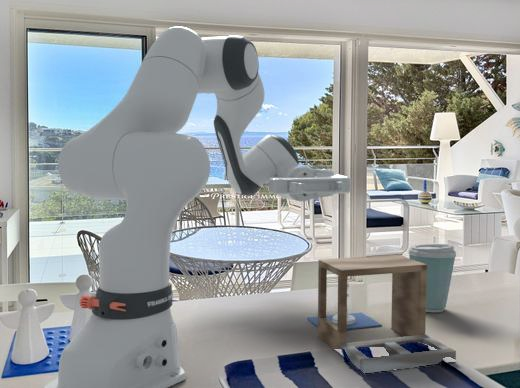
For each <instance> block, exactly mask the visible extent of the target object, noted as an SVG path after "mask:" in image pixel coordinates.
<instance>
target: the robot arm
mask: <svg viewBox="0 0 520 388" xmlns="http://www.w3.org/2000/svg"><path fill="white" fill-rule="evenodd" d="M259 65H260V64H259V55H258V52H257V49H256V46H255V44H254V43H253V42H252V41H251V40H249V39H248V38H247V37H245V36H241V35H235V34H234V35H232V34H231V35H228V36H208V37H203V36H202V37H201V36H200V35H199V34H198V33H197V32H195V31H194V30H192V29H190V28H188V27H184V26H179V25H178V26H172V27H169V28H167V29H165V30H163V31H162V32H161V34H160V35H159V36H158V37H157V38H156V40H155V41H154V42H153V43H152V45H151V46H150V48H149V49H148V51H147V52H146V54H145V56H144V58H143V60H142V62H141V64H140V66H139V68H138V70H137V72H136V74H135V76H134V78H133V81H132V82H131V84H130V87H129V88H128V90H127V92H126V94H125V95H124V97H122V99H121V100H120V101H119V103H117V105H115V107H114V108H113V109H112V110H111V111H110V112H108V114H106V115H105V116H104V117H103V118H102V119H101V120H100V121H99V122H97V123H95V125H93V126H92V127H91V128H89V129H88V130H87V131H85V132H83V133H81V134H79V135H77V136H75V137H73V138H71V139H69V140H68V141H67V142H66V143H65V144H64V145H63V146H62V148H61V150H60V153H59V156H58V161H57V162H58V163H57V167H58V168H57V170H58V174H59V178H60V180H61V182H62V184H63V186H65V188H66V189H67V190H68V191H69V192H71V193H72V194H76V195H79V196H83V197H86V198H91V199H95V200H104V201H105V200H107V201H109V200H111V201H127V202H126V211H125V214H124V217H123V218H122V220H121V222H119V224H115V226H112V227H111V228H110V229H108V230H107V231H106V232H105V233H104V234H103V235H102V237H101V239H100V241H99V245H98V261H99V262H98V265H99V270H98V271H99V286H98V287H97V289H96V293H95V295H94V296H92V295H91V296H90V295H87V294H82V296H80V299H79V303H78V304H79V306H80V308H82V309H89V310H91V313H92V314H91V315H90V316H89V318H88V319H87V320H86V322H85V323H84V324H83V325H82V327H81V328H80V329H79V330H78V332H77V333H76V334H75V335H74V336H73V338H72V339H71V340H70V342H68V344H67V345H66V346H65V348H63V350H62V352H61V354H60V357H59V362H58V363H59V364H58V374H57V375H58V376H57V377H55V378H54V379H53V380H52V381H50V382H48V383H47V384H45V385H44V386H43V387H42V388H170V387H171V386H174V385H176V384H178V383H181V382H182V381H183V382H184V381H185V380H186V378H187V375H186V370H185V369H184V368H183V366H182V365H181V357H180V347H179V337H178V329H177V328H178V327H177V325H176V322H175V320H174V318H173V315H172V311H171V307H172V306H173V297H174V292H173V285H172V283H171V282H170V252H171V240H172V235H173V232H174V228H175V225H176V223H177V221H178V219H179V217H180V215H181V213H182V212H183V210H184V209H185V208H186V207H187V205H188V204H189V203H190V202H192V201H193V200H194V199H195V198H197V196H199V194H201V193H202V191H203V190H204V189H205V188H206V185H207V183H208V180H209V177H210V174H211V173H210V172H211V162H210V157H209V153H208V152H207V150H206V148H205V146H204V144H203V143H202V142H201V141H200V140H199V139H198V138H197V137H194V136H191V135H186V134H181V133H178V132H180V131H181V130H182V129H183V127H185V125H186V124H187V122H188V120H189V117H190V114H191V112H192V109H193V106H194V103H195V101H196V98H197V96H198V94H209V95H210V94H214V96H215V98H216V114H215V116H214V118H213V127H214V131H215V135H216V139H217V140H216V141H217V143H218V147H219V150H220V153H221V156H222V159H223V164H224V167H225V176H226V178H227V181H228V183H229V185H230V187H231V189H233V190H234V191H235V192H236V193H237V194H238V195H240V196H247V197H248V196H255V195H256V194H257V193H258V192H259V190H260V191H261V189H262V187H265V188H268V192H269V193H270V194H274V195H277V196H278V197H280V198H284V199H289V200H291V201H295V202H303V203H304V202H307V201H310V200H314V199H317V198H325V197H332V196H333V195H338V194H349V193H351V190H352V179H351V178H350V177H349V176H346V175H344V174H343V175H342V174H338V173H334V171H333V170H321V169H315V168H311V167H308V166H299V164H300V163H299V156H298V154H297V152H296V150H295V148H294V147H293V146H292V145H291V143H290V142H289V141H288V140H286V139H285V138H284V137H282V136H279V135H277V134H276V135H275V134H267V135H265V136H264V137H263V138H262V139H260V140H259V141H258V142H256V143H255V144H254V145H253V146H252V147H251V148H249V150H247V151H246V152H245V153H244V154H243V152H242V149H241V144H240V141H241V138H242V137H243V134H244V132H245V131H246V129H247V128H248V126H249V125H250V123H251V122H252V121H253V120H254V118H255V117H256V116H257V115H258V114H259V113H260V111H261V109H262V106H263V104H264V100H265V87H264V83H263V81H262V78H261V75H260V73H259V69H260V68H259V67H260V66H259Z"/></svg>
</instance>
